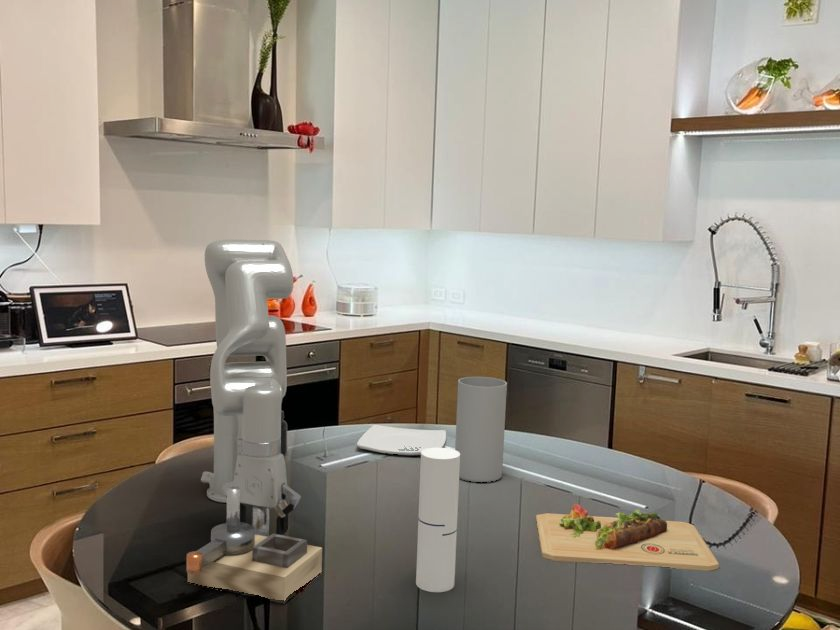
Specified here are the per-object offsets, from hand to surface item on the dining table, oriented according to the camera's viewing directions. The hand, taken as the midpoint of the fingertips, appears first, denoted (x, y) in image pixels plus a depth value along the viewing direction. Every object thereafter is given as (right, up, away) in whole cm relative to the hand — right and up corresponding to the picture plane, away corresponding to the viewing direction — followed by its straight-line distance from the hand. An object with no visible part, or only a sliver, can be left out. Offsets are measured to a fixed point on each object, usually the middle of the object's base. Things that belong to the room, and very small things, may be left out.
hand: (260, 530), depth 170 cm
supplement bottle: (-8, +5, +62) cm, 63 cm away
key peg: (0, -3, +1) cm, 3 cm away
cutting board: (+75, -6, +10) cm, 76 cm away
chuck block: (+2, -5, -14) cm, 15 cm away
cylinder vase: (+47, +1, +50) cm, 69 cm away
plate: (+27, +5, +75) cm, 80 cm away
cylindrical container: (+35, -7, -13) cm, 38 cm away
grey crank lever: (-4, 0, -17) cm, 18 cm away
